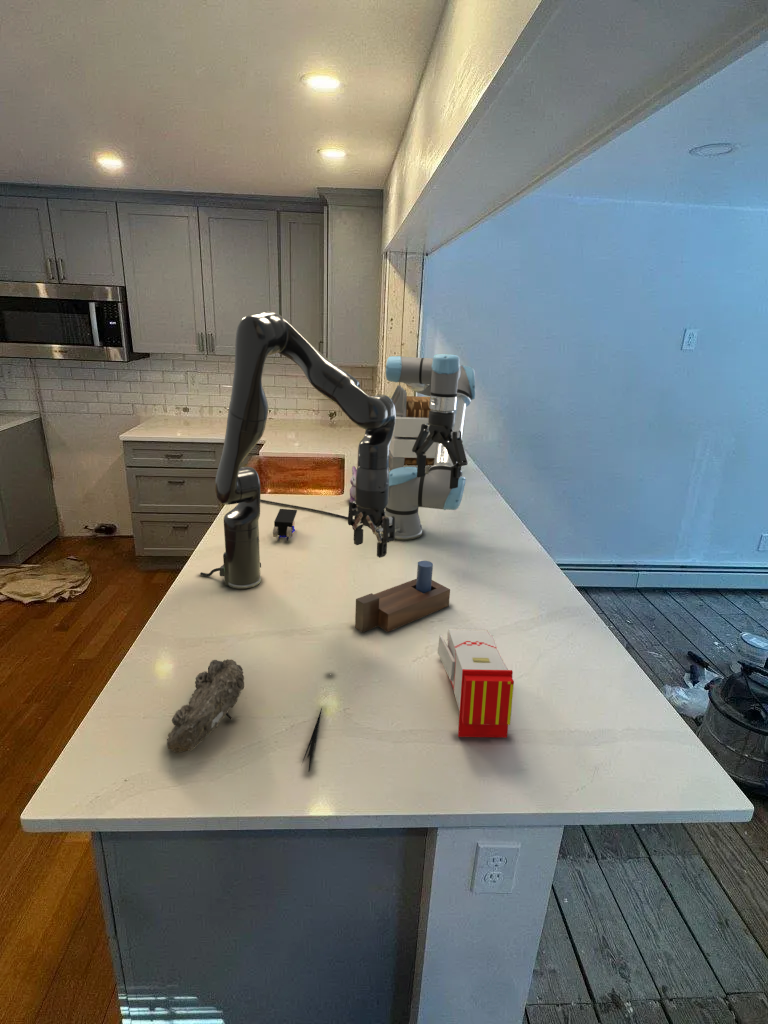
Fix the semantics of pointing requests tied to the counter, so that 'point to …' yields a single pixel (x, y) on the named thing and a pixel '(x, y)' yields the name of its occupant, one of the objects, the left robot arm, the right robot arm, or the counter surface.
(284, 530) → the figurine character
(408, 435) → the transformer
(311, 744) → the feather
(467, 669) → the toy
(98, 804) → the counter surface
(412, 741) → the counter surface
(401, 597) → the peg block
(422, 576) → the peg
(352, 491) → the figurine
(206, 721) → the fossil
